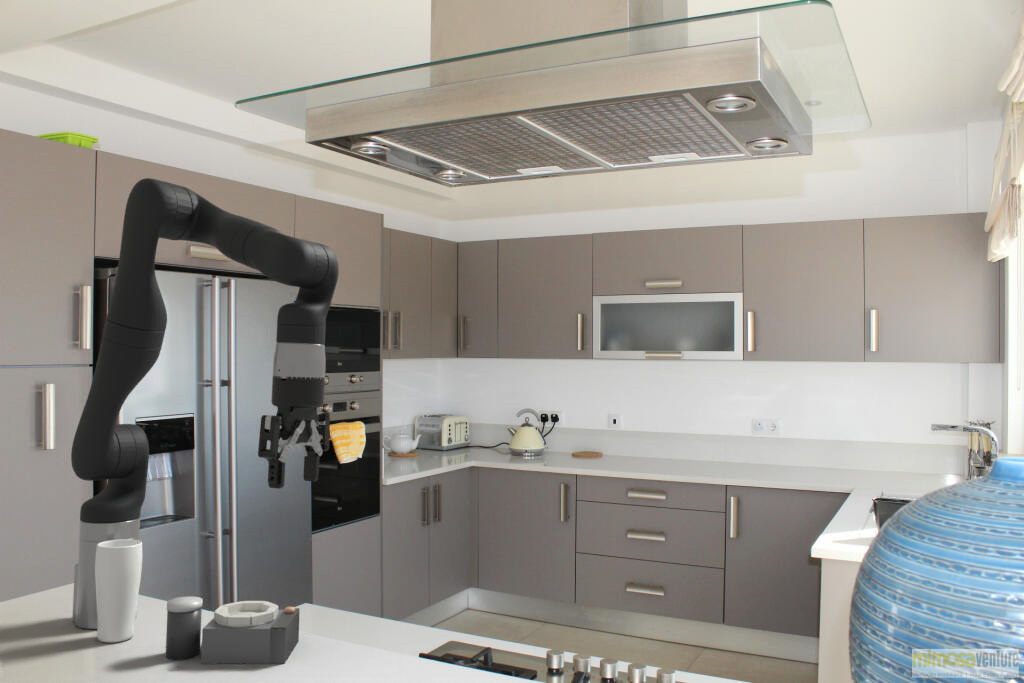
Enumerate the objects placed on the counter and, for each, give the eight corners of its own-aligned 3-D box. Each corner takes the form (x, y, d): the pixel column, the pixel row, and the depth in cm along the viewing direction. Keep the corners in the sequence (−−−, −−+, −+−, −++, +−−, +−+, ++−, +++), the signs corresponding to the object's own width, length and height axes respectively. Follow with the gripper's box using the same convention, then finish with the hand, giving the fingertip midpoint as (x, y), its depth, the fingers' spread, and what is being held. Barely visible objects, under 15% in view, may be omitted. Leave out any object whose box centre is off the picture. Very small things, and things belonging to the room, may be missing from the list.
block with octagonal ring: (201, 663, 119) (202, 618, 119) (221, 641, 128) (223, 599, 129) (284, 663, 119) (286, 618, 119) (298, 641, 129) (299, 600, 129)
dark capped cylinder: (157, 656, 121) (159, 602, 121) (184, 647, 125) (186, 594, 126) (181, 662, 119) (183, 607, 119) (207, 652, 123) (209, 599, 124)
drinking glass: (120, 647, 125) (124, 548, 126) (81, 643, 126) (86, 546, 127) (148, 633, 131) (152, 540, 132) (111, 630, 133) (115, 537, 134)
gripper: (305, 373, 128) (300, 477, 128) (247, 373, 115) (241, 488, 114) (346, 375, 126) (342, 481, 125) (291, 375, 112) (285, 492, 112)
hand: (293, 484), depth 120 cm, fingers open, 8 cm apart
